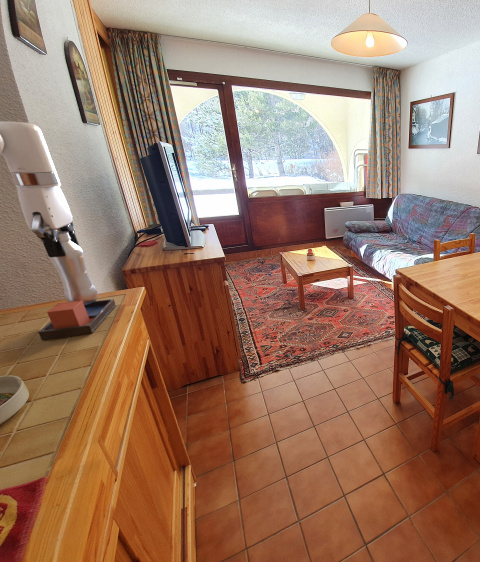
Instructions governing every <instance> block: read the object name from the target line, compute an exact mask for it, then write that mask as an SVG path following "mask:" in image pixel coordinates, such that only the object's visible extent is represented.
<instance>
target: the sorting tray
mask: <svg viewBox="0 0 480 562" xmlns="http://www.w3.org/2000/svg"><path fill="white" fill-rule="evenodd" d="M84 306H85V309H86V312H87V314H88V317H89V319H90V321H89V322H88V323H87V324H86V325H82V326H75V327H67V328H60V329H54V327H53V325H52V322H51V321H50V322H48V323H46V325H45V326H44V327H43V328H41V329H40V330H39V331H38V332H37V333H38V335H39V337H40V339H41V341H42V342H43V341H49V340H57V339H64V338H70V337H78V336H84V335H85V336H86V335H92V334H93V333H94V332H96V330H97V329H98V328H99V327H100V325H101V324H102V323H103V322H104V321H105V319H107V317H108V316H109V315H110V314H111V313H112V311H113V310H114V309H116V307H117V304H116V302H115V299H114V298H110V299H101V300H96V301H95V302H93V303H90V304H87V305H84Z"/></svg>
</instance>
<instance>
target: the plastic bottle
mask: <svg viewBox="0 0 480 562" xmlns="http://www.w3.org/2000/svg"><path fill="white" fill-rule="evenodd" d="M49 234H50V235H51V232H49ZM57 237H58V240H60V241H61V243H62V246H63V248H64V251H65V253H66V256H63V257H49V256H48V258H49V259H50V261H51V263H52V265H53V266H54V268H55V270H56V271H57V274H58V275H59V277H60V279H61V282H62V283H61V284H62V287H63V290H64V292H63V293H64V299H65V301H66V302H74V301H83V304H84V305H87V304H90V303H93V302H95V301H98V297H99V293H98V290H97V288H96V287H95V285H94V284H93V281H92V279H91V278H90V276H89V273H88V270H87V266H86V261H85V255H84V251H83V249H82V248H81V247H79V246H80V245H79V246H78V245H76V244H75V243H73V242H71V241H70V239H71V237H70V236H69V234H68V232H59V231H57Z"/></svg>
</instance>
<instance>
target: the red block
mask: <svg viewBox="0 0 480 562" xmlns="http://www.w3.org/2000/svg"><path fill="white" fill-rule="evenodd" d="M46 313H47V315H48V318H49V320H50V322H52V325H53V327H54V329H60V328H67V327H75V326H82V325H86V324H87V323H88V322H89V321H90V319H89V317H88V314H87V312H86V309H85V306H84V304H83V301H74V302H67V301H66V302H58V303H57V304H55V305H54V306H53V307H51V308H49V310H48V311H47V312H46Z"/></svg>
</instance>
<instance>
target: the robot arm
mask: <svg viewBox="0 0 480 562" xmlns="http://www.w3.org/2000/svg"><path fill="white" fill-rule="evenodd" d="M0 156H3V159H4V161H5V164H6V166H7V168H8V171H9V172H10V175H11V177H12V180H13V183H14V185H15V187H16V192H17V196H18V202H19V205H20V208H21V211H22V214H23V217H24V221H25V222H26V225H27V227H28V229H29V230H30V231H31V232H32V233H33V234H35V235H36V237H38V239H39V240H40V242H41V243H42V245H43V247H44V249H45V251H46V255H47V256H48V258H49V257H63V256H66V253H65V251H64V248H63V246H62V243H61V241H60V240H58V237H57V232H68V234H69V236H70V237H71V239H70V241H71V242H73V243H75V244H76V245H78V246H79V247H80V243H79V241H78V238H77V235H76V230H75V228H74V223H73V222H74V217H73V215H72V212H71V209H70V207H69V204H68V201H67V199H66V197H65V195H64V193H63V191H62V189H61V186H62V184H61V181H60V178H59V175H58V173H57V171H56V167H55V164H54V162H53V159H52V157H51V154H50V151H49V148H48V145H47V142H46V140H45V137H44V135H43V132H42V130H41V128H40V127H39V126H38V125H36V124H34V123H31V122H23V121H7V120H6V121H4V120H3V121H2V120H1V121H0ZM50 233H51V235H50ZM80 248H81V247H80Z"/></svg>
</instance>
